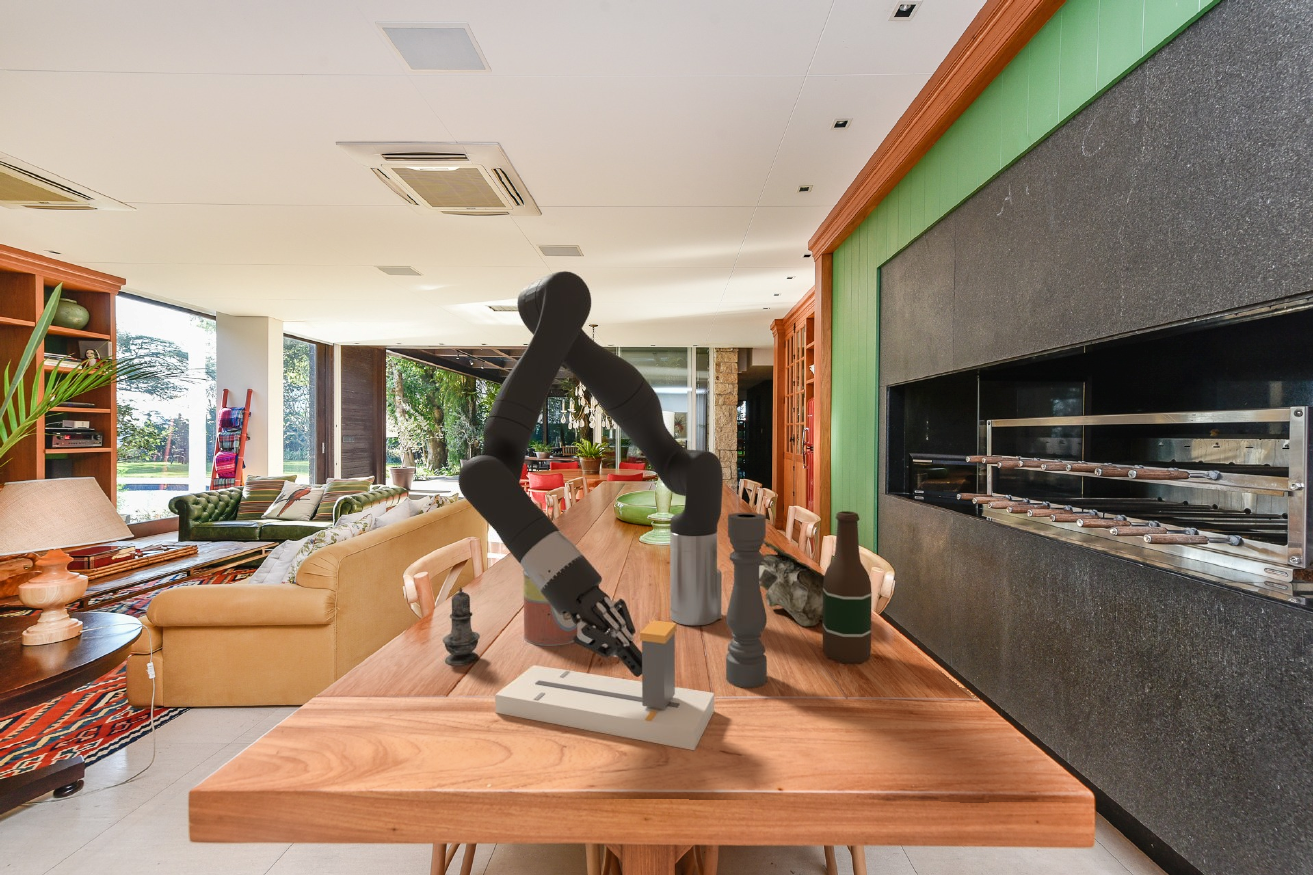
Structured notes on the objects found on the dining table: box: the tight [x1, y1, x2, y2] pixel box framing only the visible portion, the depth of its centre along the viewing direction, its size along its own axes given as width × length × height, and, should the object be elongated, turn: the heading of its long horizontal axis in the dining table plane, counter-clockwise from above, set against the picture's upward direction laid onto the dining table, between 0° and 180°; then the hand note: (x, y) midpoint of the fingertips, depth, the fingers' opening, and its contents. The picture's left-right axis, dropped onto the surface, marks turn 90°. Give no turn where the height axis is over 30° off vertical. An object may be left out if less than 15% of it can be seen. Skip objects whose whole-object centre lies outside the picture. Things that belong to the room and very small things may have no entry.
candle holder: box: [725, 512, 768, 689], centre depth 91 cm, size 6×6×25 cm
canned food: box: [522, 569, 578, 647], centre depth 110 cm, size 11×11×12 cm
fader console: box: [494, 664, 715, 751], centre depth 81 cm, size 28×10×3 cm, turn 71°
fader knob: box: [639, 620, 678, 709], centre depth 78 cm, size 3×5×10 cm
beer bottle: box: [822, 510, 873, 665], centre depth 100 cm, size 8×8×24 cm
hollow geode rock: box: [759, 540, 825, 627], centre depth 125 cm, size 28×13×15 cm
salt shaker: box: [442, 586, 481, 667], centre depth 99 cm, size 6×6×12 cm
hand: (644, 670), depth 79 cm, fingers closed
